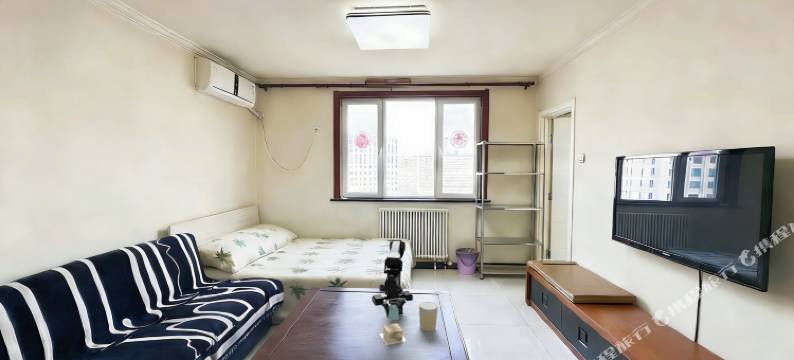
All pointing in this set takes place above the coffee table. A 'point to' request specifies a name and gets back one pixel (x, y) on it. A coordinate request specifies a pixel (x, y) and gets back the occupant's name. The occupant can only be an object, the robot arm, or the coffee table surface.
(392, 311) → the teal block
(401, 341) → the baseplate
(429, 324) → the coffee cup
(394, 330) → the maple brick
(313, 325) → the coffee table surface
